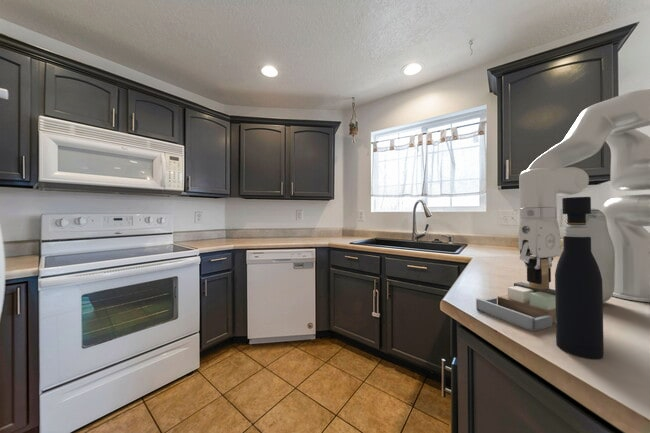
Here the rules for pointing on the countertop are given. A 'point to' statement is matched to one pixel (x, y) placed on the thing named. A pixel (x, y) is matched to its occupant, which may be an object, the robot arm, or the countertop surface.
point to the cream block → (519, 294)
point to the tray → (513, 315)
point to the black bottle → (578, 287)
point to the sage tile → (543, 300)
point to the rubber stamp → (545, 279)
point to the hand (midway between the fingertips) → (538, 281)
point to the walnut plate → (525, 308)
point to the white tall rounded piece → (601, 249)
